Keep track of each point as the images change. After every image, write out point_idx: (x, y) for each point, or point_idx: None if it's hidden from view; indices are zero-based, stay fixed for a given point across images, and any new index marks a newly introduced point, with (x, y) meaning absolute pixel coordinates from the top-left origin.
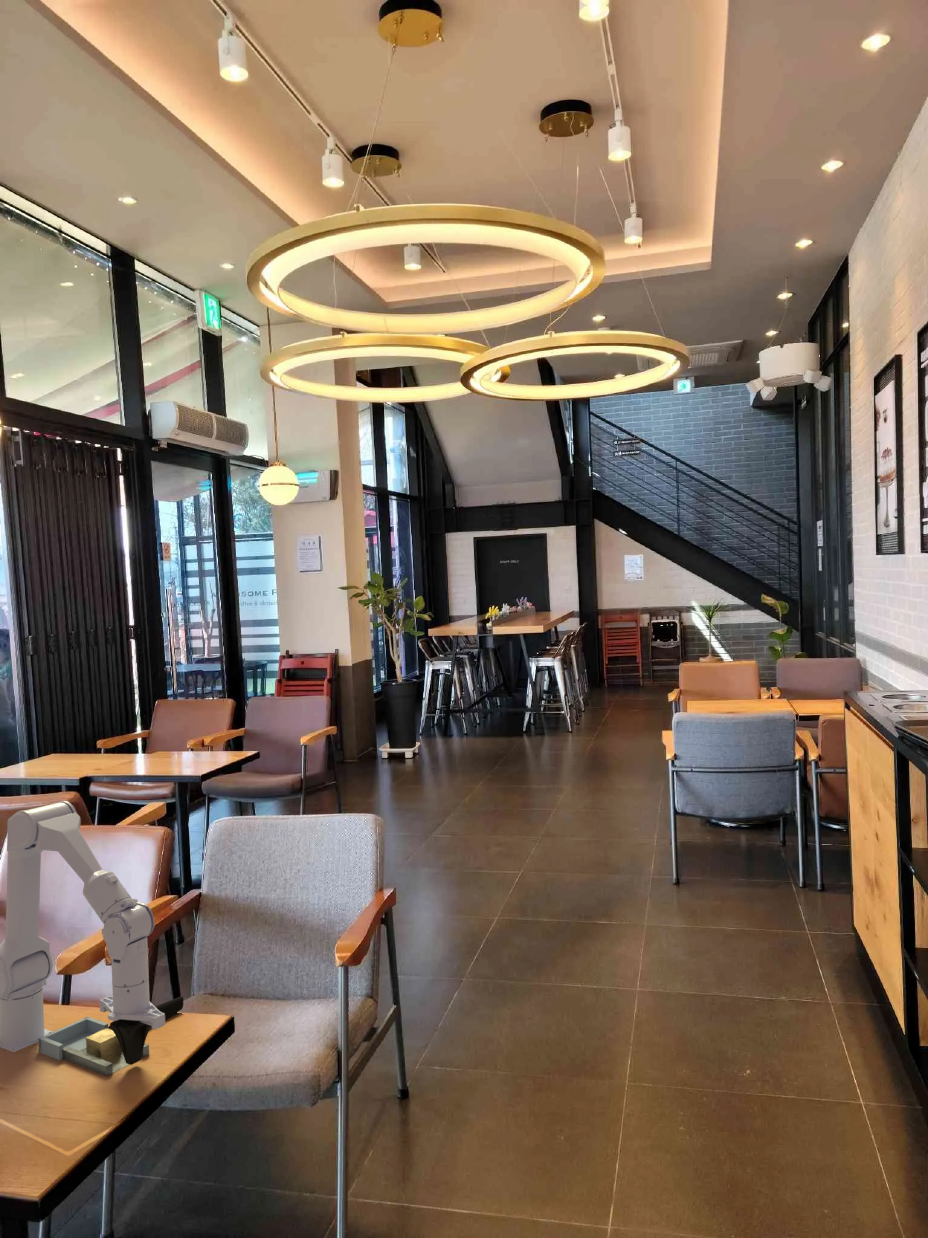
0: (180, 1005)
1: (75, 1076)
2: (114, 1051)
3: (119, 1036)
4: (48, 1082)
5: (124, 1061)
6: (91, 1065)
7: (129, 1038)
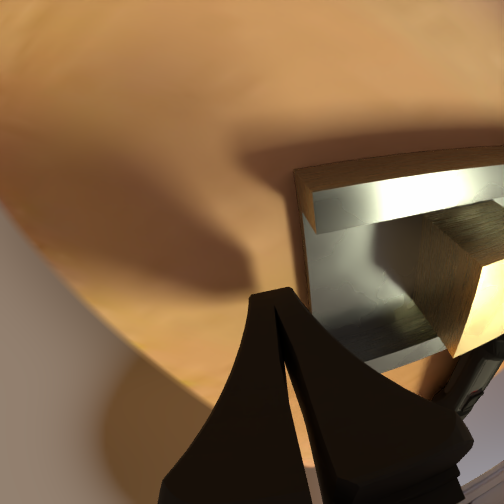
0: None
1: (438, 99)
2: (428, 288)
3: (342, 398)
4: (470, 18)
5: (352, 288)
6: (425, 164)
7: (196, 438)
